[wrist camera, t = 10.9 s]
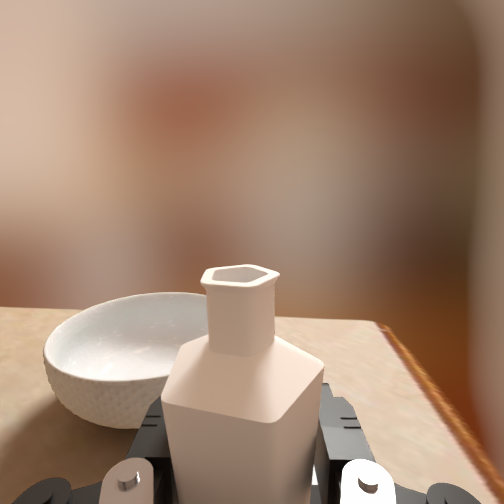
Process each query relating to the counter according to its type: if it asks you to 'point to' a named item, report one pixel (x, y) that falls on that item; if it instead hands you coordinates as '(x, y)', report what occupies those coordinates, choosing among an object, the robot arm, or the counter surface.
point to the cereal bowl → (121, 354)
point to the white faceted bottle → (242, 400)
